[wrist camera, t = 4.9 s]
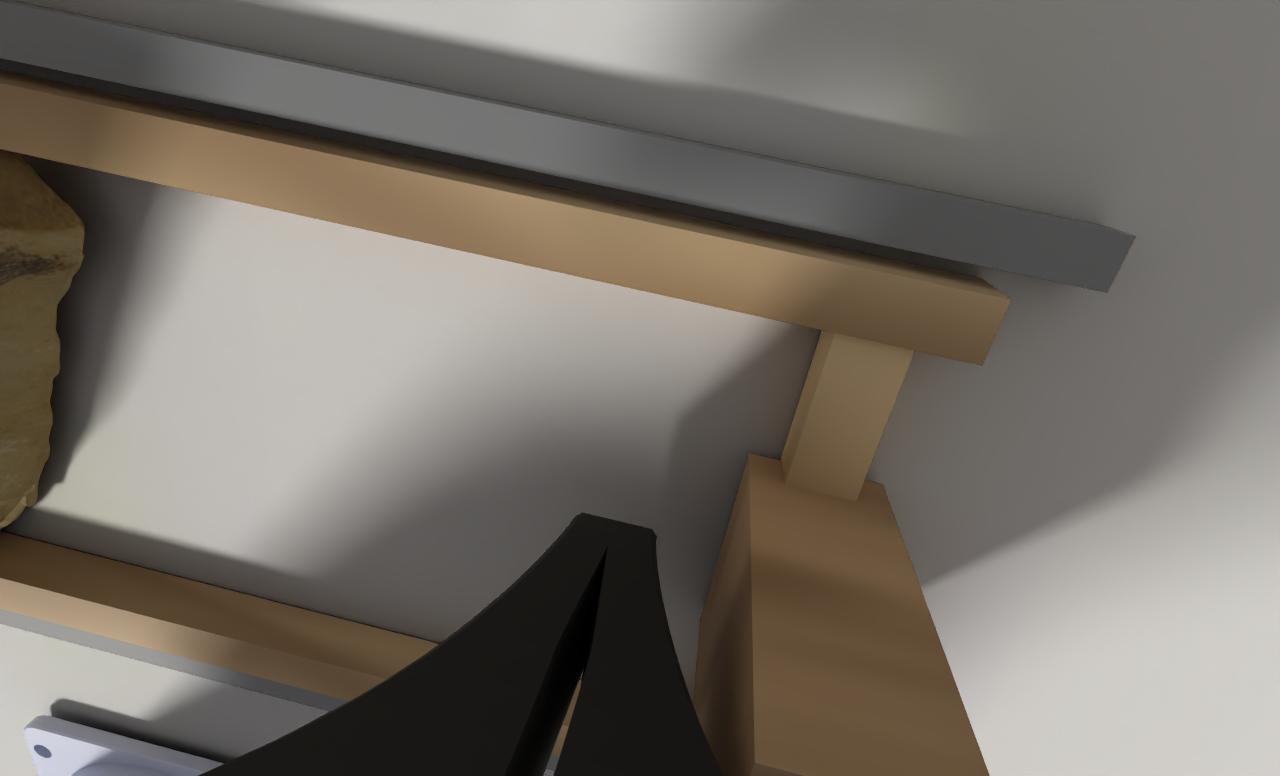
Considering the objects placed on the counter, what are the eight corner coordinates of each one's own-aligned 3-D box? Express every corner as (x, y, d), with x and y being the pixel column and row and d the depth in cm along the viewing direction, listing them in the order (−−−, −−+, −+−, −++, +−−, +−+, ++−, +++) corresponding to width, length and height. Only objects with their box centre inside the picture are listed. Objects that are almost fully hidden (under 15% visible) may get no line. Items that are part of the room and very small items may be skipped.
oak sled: (779, 763, 15) (801, 1163, 9) (-200, 509, 16) (-696, 722, 11) (982, 278, 10) (1289, 503, 4) (-439, -24, 11) (-1586, -150, 6)
